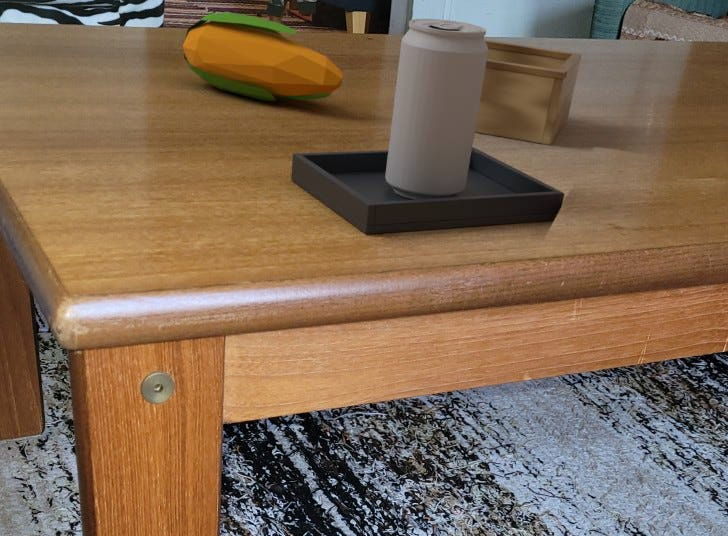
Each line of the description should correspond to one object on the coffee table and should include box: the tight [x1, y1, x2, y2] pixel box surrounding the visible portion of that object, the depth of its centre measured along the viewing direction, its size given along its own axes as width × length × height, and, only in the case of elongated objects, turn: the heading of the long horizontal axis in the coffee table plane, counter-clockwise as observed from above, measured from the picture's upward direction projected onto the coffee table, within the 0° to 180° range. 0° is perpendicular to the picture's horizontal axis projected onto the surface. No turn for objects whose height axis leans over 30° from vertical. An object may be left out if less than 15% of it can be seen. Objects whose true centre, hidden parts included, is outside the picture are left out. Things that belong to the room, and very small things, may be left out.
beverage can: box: [385, 18, 488, 200], centre depth 75 cm, size 6×6×12 cm
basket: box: [475, 39, 583, 146], centre depth 102 cm, size 13×13×7 cm
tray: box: [290, 146, 565, 235], centre depth 78 cm, size 17×13×2 cm
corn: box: [182, 12, 344, 102], centre depth 101 cm, size 7×8×20 cm
